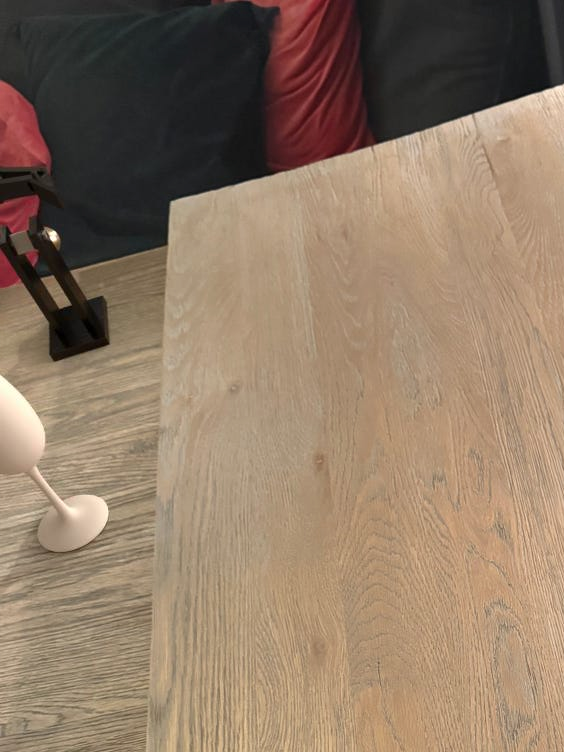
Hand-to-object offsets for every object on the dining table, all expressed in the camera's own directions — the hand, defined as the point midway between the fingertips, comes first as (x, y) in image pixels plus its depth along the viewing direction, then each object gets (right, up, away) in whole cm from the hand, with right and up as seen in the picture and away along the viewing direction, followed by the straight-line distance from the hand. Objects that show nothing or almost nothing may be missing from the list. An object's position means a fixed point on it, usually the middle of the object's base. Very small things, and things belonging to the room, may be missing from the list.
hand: (22, 226), depth 132 cm
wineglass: (+16, -44, -20) cm, 51 cm away
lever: (+5, -6, -6) cm, 10 cm away
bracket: (+8, -15, 0) cm, 17 cm away
